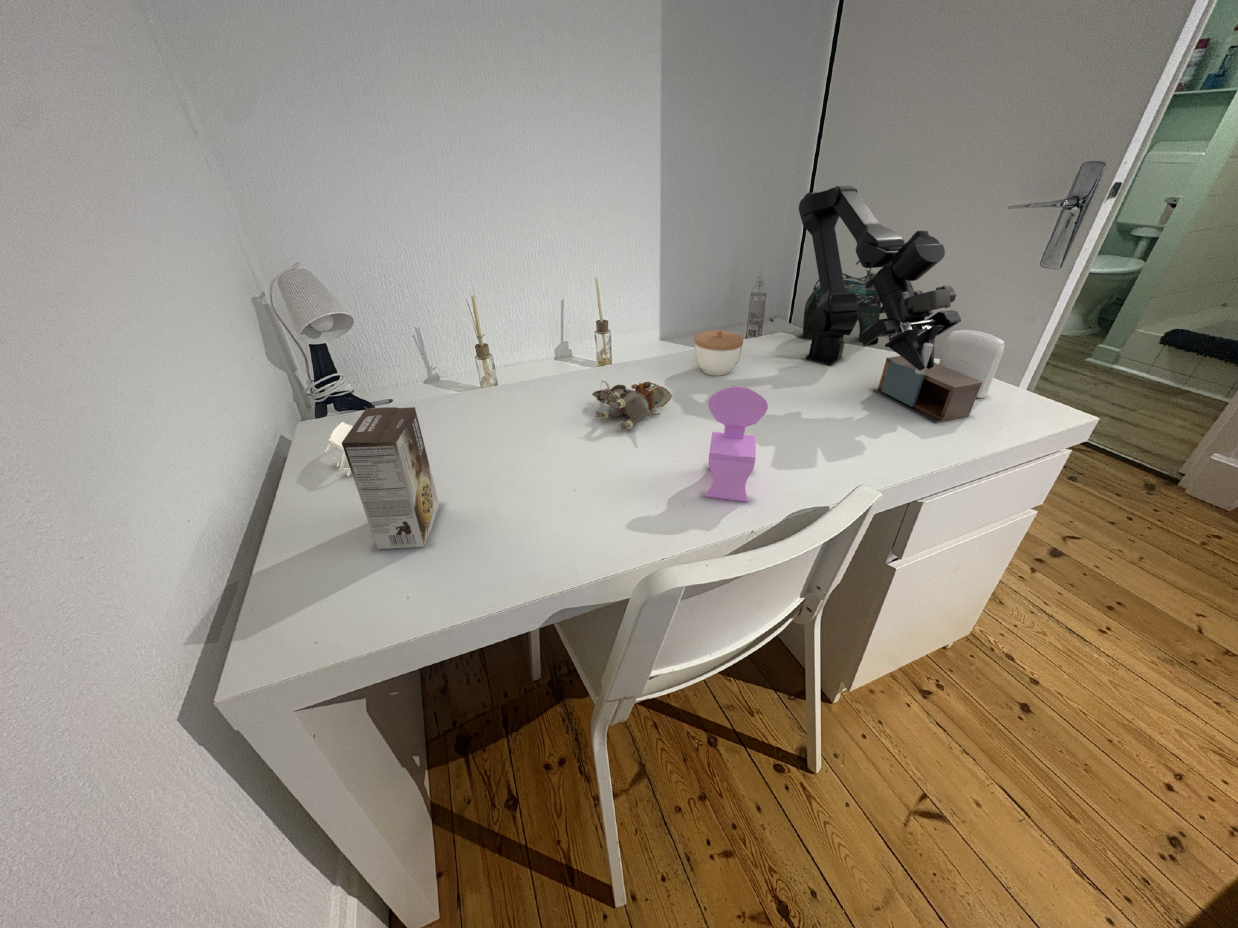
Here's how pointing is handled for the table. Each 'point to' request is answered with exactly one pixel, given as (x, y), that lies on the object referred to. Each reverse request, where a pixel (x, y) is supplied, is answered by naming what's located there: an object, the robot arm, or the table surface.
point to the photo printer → (973, 356)
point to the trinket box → (717, 351)
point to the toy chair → (733, 441)
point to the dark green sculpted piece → (865, 300)
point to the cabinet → (939, 392)
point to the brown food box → (392, 476)
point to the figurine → (632, 401)
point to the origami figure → (339, 443)
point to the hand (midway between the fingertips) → (926, 368)
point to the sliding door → (906, 379)
